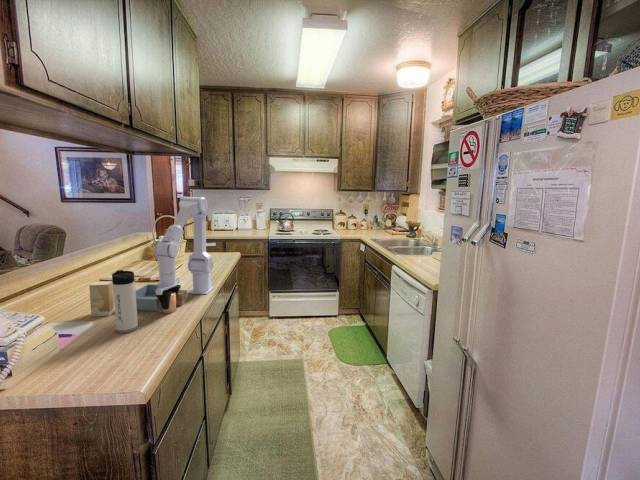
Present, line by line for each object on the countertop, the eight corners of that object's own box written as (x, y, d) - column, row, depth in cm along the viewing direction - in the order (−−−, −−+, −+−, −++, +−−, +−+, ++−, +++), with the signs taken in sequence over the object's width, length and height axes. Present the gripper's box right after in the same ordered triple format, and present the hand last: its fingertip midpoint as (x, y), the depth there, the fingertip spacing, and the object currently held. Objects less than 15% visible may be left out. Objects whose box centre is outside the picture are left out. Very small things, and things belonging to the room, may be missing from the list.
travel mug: (133, 323, 109) (129, 268, 105) (141, 328, 104) (137, 272, 101) (113, 328, 104) (108, 272, 100) (120, 335, 100) (115, 276, 96)
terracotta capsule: (166, 308, 122) (165, 291, 121) (178, 308, 122) (178, 291, 121) (159, 313, 117) (158, 295, 116) (172, 313, 117) (171, 296, 116)
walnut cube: (175, 301, 130) (175, 289, 129) (187, 301, 130) (187, 290, 129) (170, 305, 125) (169, 293, 124) (182, 305, 125) (181, 294, 124)
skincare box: (90, 317, 112) (87, 285, 110) (96, 312, 116) (93, 281, 114) (111, 315, 114) (108, 284, 112) (115, 311, 118) (112, 280, 116)
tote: (148, 294, 136) (147, 284, 135) (177, 295, 136) (177, 285, 135) (123, 310, 119) (122, 298, 118) (156, 311, 119) (156, 299, 118)
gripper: (166, 267, 124) (168, 299, 127) (146, 277, 110) (148, 313, 112) (183, 267, 124) (185, 299, 127) (165, 278, 110) (167, 314, 112)
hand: (169, 306), depth 119 cm, fingers closed on terracotta capsule, 5 cm apart
